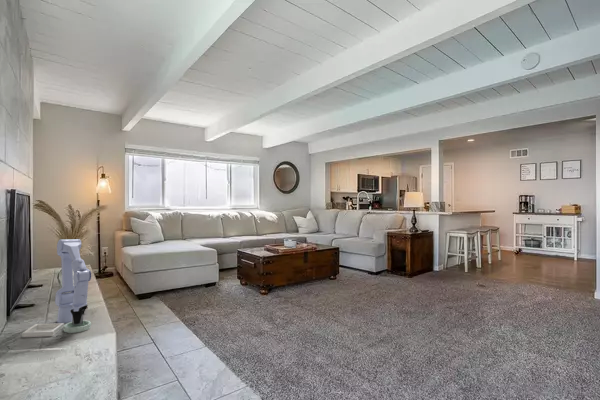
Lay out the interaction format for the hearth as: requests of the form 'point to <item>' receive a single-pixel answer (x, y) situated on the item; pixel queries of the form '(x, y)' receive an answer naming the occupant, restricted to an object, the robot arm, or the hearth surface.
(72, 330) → the sage bowl
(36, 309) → the hearth surface
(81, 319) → the grey short cylinder
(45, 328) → the parts tray
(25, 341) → the hearth surface
